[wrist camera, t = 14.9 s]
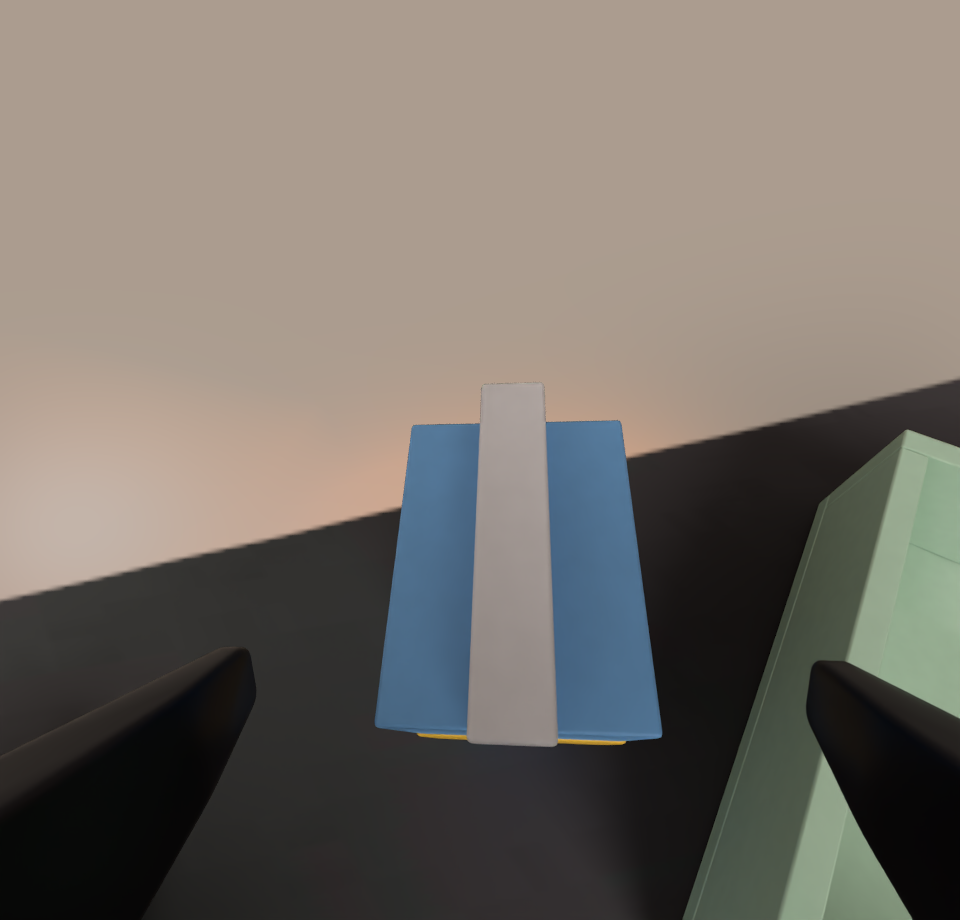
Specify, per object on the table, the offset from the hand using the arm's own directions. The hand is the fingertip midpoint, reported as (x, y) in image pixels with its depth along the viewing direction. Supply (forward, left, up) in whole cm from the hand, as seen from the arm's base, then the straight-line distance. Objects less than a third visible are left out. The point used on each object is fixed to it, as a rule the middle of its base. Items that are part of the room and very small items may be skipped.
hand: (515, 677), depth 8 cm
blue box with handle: (+1, -1, -9) cm, 9 cm away
